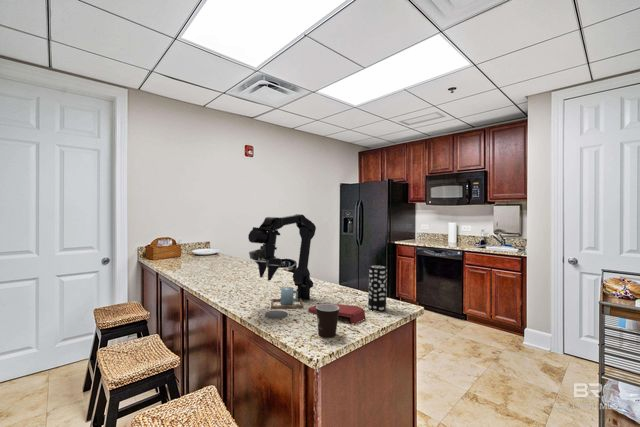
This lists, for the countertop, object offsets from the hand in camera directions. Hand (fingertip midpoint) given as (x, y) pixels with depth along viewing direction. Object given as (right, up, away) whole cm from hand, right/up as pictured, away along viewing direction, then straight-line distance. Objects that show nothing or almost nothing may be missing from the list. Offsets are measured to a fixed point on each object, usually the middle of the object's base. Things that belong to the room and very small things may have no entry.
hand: (264, 278), depth 134 cm
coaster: (+6, -15, -5) cm, 17 cm away
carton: (+32, -16, -2) cm, 36 cm away
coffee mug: (+28, -15, -23) cm, 39 cm away
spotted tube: (+52, -16, +6) cm, 55 cm away
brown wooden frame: (+9, -15, +10) cm, 20 cm away
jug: (+10, -15, +10) cm, 20 cm away
